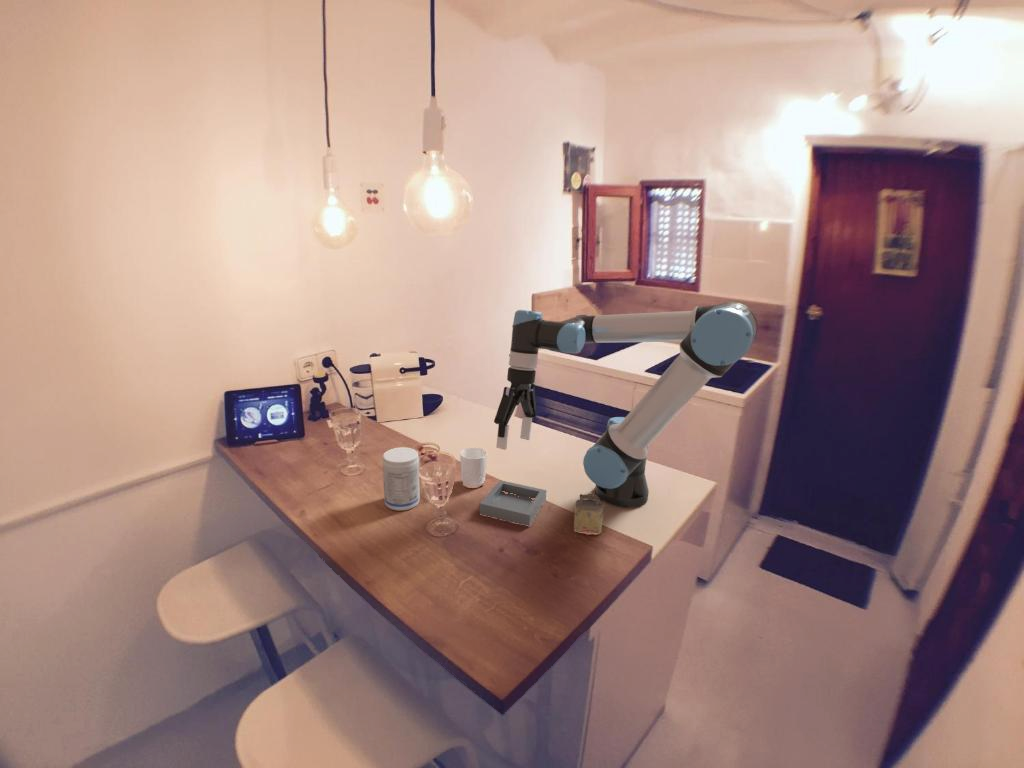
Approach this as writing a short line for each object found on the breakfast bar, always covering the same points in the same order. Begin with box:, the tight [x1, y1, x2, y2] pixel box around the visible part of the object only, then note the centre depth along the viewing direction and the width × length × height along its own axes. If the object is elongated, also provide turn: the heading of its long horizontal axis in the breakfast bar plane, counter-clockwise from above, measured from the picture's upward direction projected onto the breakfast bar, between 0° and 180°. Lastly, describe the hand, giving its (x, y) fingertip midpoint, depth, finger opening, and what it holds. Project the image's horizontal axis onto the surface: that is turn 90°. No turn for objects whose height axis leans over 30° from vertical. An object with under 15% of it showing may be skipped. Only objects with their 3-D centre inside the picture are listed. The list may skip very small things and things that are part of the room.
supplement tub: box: [382, 447, 421, 512], centre depth 134 cm, size 10×10×15 cm
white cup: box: [459, 447, 488, 486], centre depth 146 cm, size 8×8×10 cm
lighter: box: [573, 493, 604, 533], centre depth 124 cm, size 7×4×10 cm, turn 85°
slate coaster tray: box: [479, 479, 547, 527], centre depth 135 cm, size 14×14×4 cm
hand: (513, 443), depth 137 cm, fingers open, 13 cm apart
